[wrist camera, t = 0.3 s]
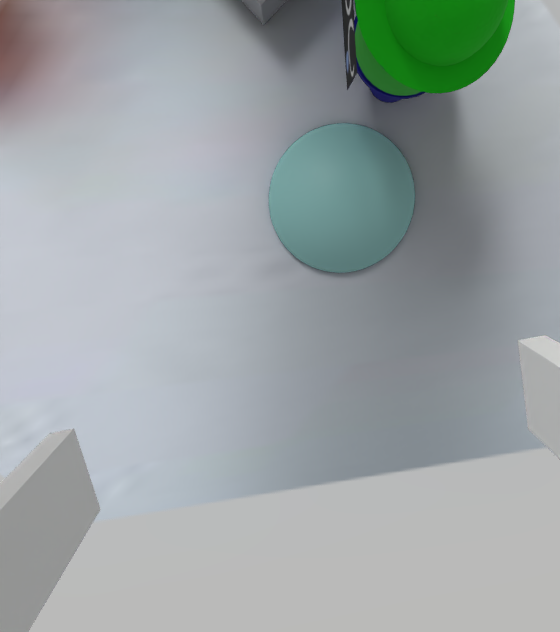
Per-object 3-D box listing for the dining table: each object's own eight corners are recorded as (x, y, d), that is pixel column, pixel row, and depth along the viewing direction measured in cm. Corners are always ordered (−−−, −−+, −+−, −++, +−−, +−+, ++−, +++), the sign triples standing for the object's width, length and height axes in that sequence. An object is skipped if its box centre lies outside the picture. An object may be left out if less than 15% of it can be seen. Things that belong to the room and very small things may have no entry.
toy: (328, -4, 37) (354, -134, 22) (452, -18, 37) (560, -159, 22) (337, 129, 39) (366, 88, 24) (454, 117, 39) (556, 69, 24)
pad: (254, 142, 39) (254, 141, 39) (400, 108, 39) (402, 107, 38) (285, 284, 42) (285, 285, 41) (423, 255, 41) (425, 256, 41)
